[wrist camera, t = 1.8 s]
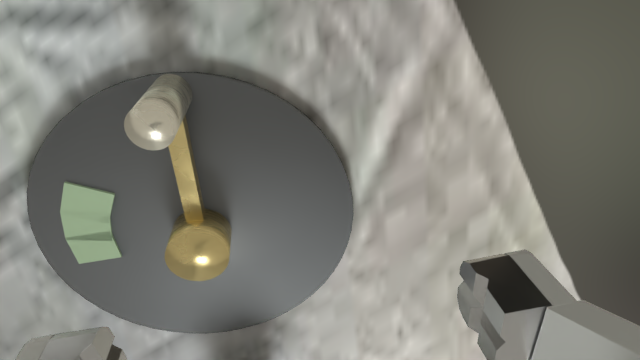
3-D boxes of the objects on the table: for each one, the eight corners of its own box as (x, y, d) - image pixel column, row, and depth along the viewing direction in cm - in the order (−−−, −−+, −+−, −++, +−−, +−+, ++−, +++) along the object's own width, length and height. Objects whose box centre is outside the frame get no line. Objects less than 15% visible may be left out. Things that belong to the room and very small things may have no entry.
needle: (235, 251, 31) (231, 308, 26) (178, 257, 30) (163, 317, 25) (205, 71, 24) (191, 102, 19) (131, 75, 23) (95, 108, 18)
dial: (348, 308, 38) (350, 316, 37) (92, 341, 35) (88, 351, 34) (355, 62, 26) (358, 66, 25) (-32, 82, 23) (-43, 87, 22)
